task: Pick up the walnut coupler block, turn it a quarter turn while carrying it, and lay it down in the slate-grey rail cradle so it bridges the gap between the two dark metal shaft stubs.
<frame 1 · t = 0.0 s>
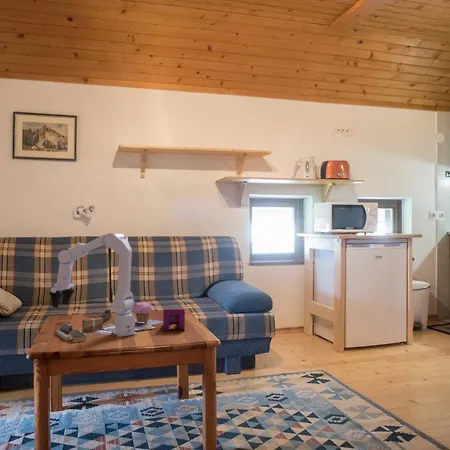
hand: (60, 305, 207), 11 cm above the table, tool pointing down, fingers open, 7 cm apart
mounting bracket: (174, 328, 211), on the table
dark brown rough bar: (103, 321, 225), on the table
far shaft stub: (66, 332, 200), on the table
cradle: (71, 336, 194), on the table
coupler block: (92, 330, 205), on the table
cupcake: (142, 323, 220), on the table
near shaft stub: (77, 340, 187), on the table
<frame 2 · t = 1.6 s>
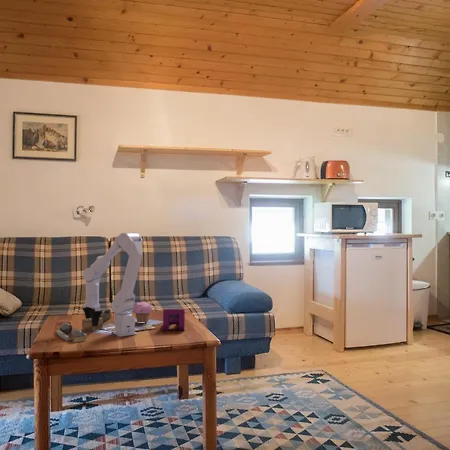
hand: (92, 324, 205), 2 cm above the table, tool pointing down, fingers open, 7 cm apart
nothing on the table moved.
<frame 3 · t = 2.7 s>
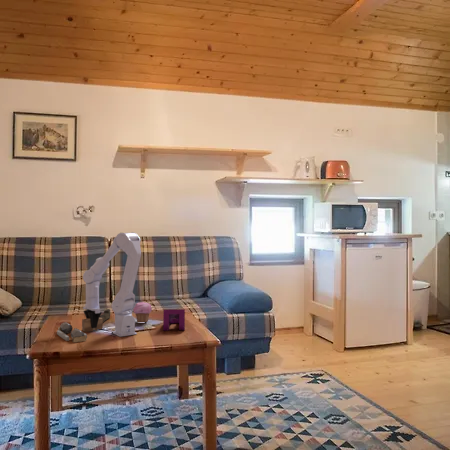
hand: (92, 326, 205), 1 cm above the table, tool pointing down, fingers closed on coupler block, 4 cm apart
coupler block: (92, 329, 205), on the table, touching gripper
everything else where it was.
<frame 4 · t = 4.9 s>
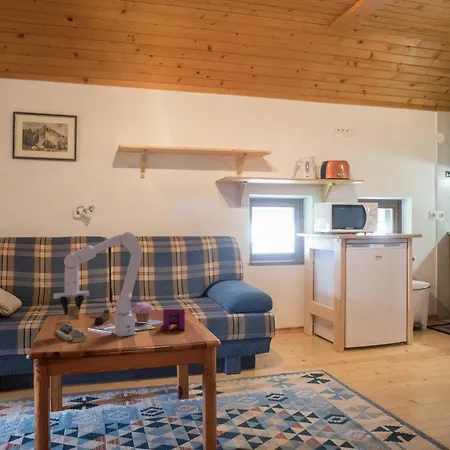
hand: (71, 314, 194), 9 cm above the table, tool pointing down, fingers closed on coupler block, 4 cm apart
coupler block: (71, 318, 194), point 8 cm above the table, touching gripper
everything else where it was.
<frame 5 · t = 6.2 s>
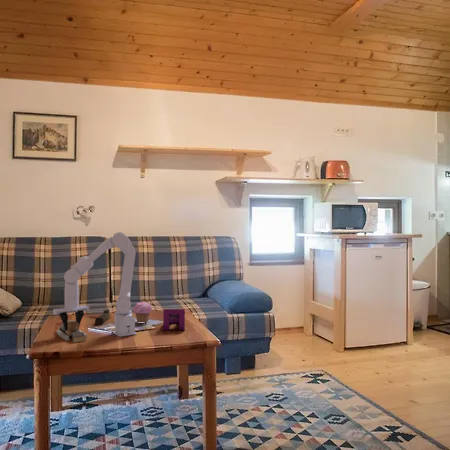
hand: (71, 329, 194), 3 cm above the table, tool pointing down, fingers closed on coupler block, 4 cm apart
coupler block: (71, 333, 194), point 1 cm above the table, touching gripper
everything else where it was.
when the fingers open (3 cm above the table, at t = 7.1 s): coupler block stays where it is, on the table.
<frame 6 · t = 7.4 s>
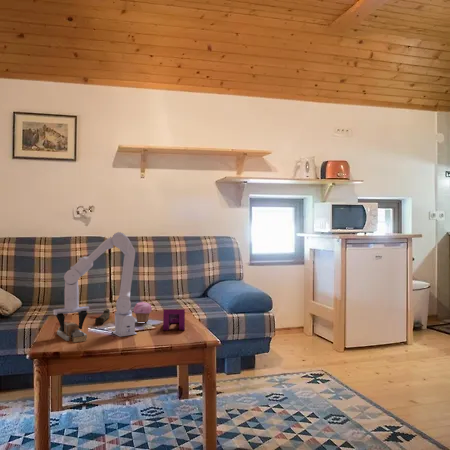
hand: (71, 329, 194), 3 cm above the table, tool pointing down, fingers open, 7 cm apart
coupler block: (71, 336, 194), on the table
everything else where it was.
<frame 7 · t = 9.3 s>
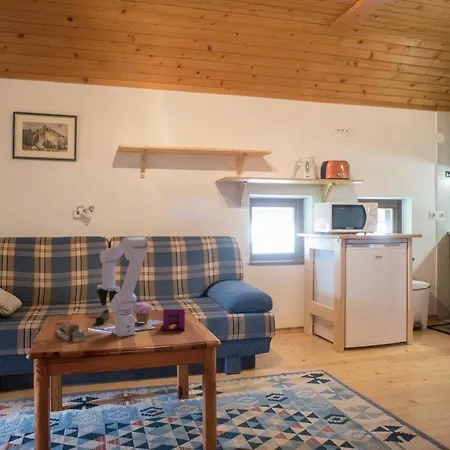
hand: (108, 306, 210), 10 cm above the table, tool pointing down, fingers open, 7 cm apart
nothing on the table moved.
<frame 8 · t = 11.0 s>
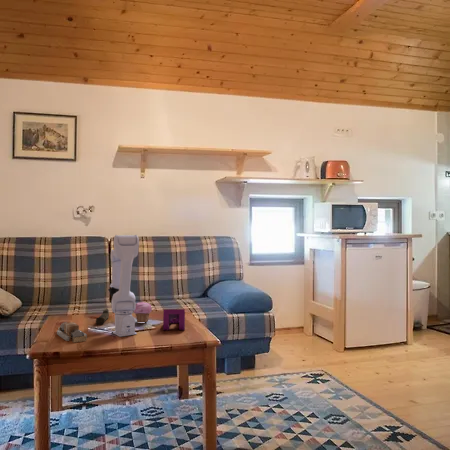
hand: (118, 304, 214), 10 cm above the table, tool pointing down, fingers open, 7 cm apart
nothing on the table moved.
at the end: coupler block inside the target area (0.2 cm from its centre), on the table; the gripper is holding nothing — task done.
